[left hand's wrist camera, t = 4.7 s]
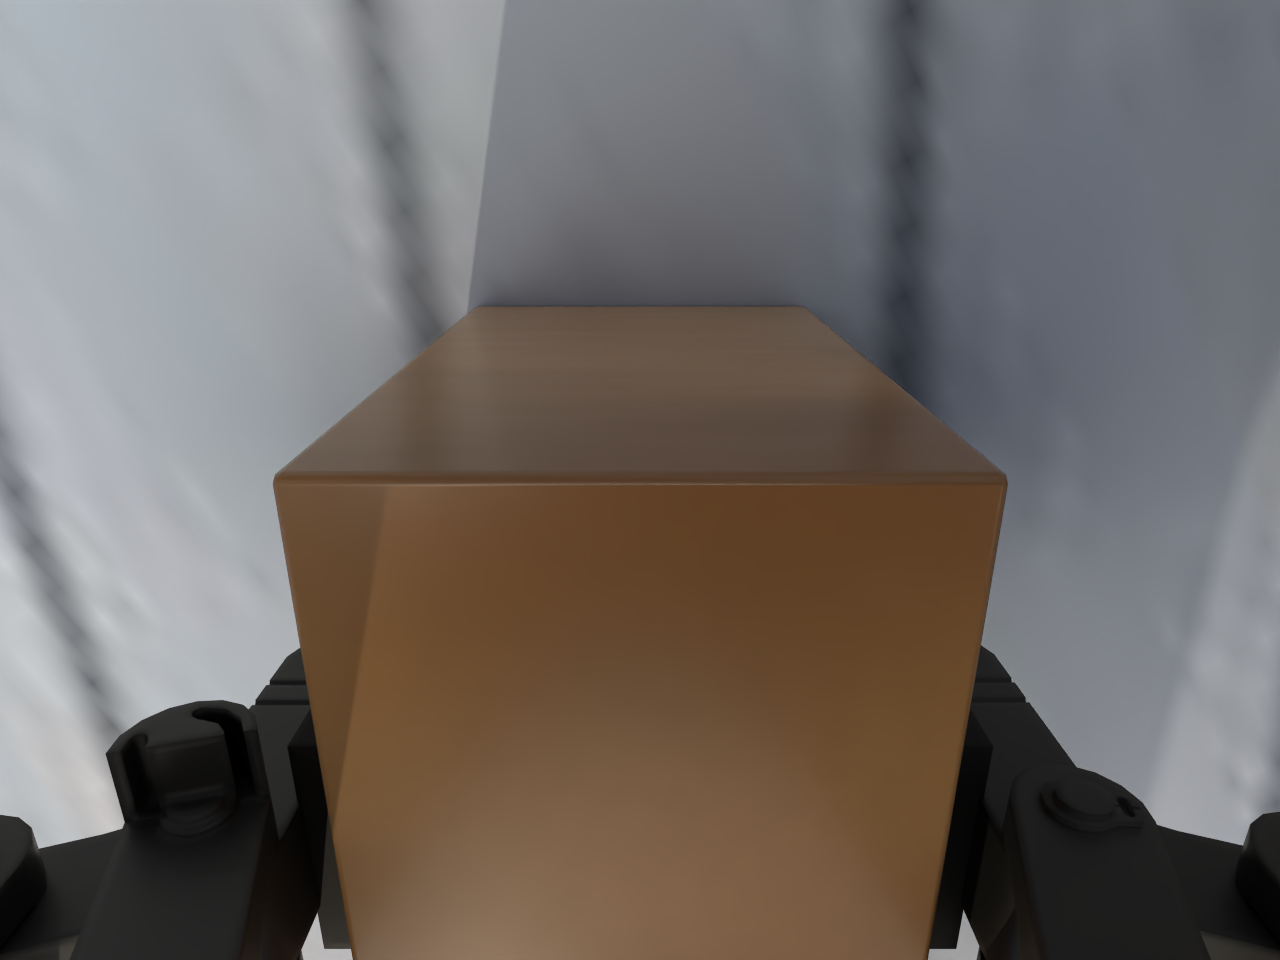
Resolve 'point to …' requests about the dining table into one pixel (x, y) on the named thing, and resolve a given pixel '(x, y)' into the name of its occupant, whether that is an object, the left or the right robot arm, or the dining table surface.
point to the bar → (640, 640)
